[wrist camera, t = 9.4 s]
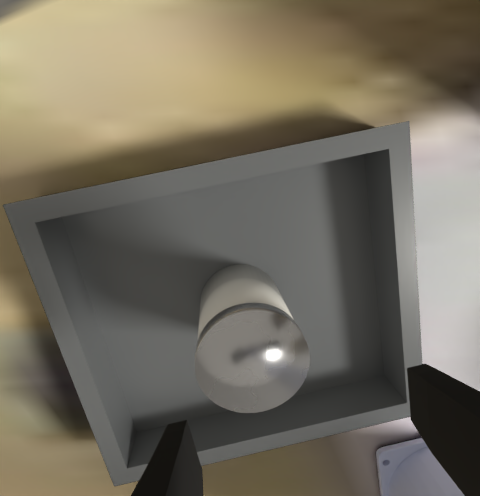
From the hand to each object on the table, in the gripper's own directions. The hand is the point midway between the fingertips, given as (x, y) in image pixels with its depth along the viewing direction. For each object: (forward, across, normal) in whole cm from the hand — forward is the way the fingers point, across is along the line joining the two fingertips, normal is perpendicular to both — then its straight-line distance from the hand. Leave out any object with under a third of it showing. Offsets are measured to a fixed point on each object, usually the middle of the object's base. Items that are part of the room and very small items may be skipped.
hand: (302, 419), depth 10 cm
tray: (+9, +1, 0) cm, 9 cm away
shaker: (+9, +1, 0) cm, 9 cm away
